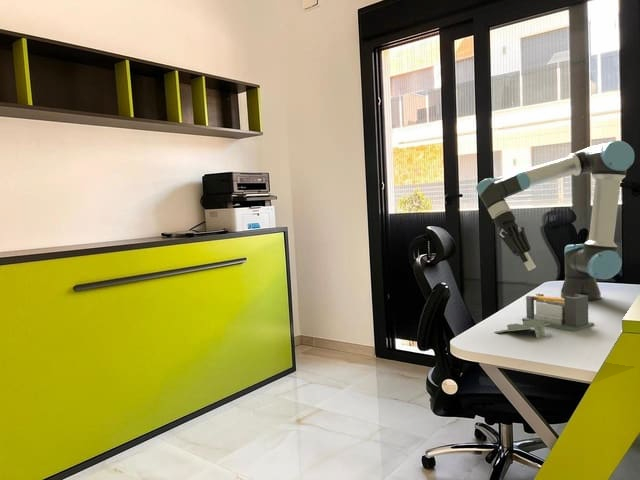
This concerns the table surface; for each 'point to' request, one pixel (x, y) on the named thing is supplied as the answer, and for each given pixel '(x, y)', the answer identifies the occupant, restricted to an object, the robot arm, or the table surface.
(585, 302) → the slotted lug
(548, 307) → the heat sink
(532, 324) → the metal bracket
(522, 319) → the grey green railed plate
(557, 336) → the table surface
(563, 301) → the strap
